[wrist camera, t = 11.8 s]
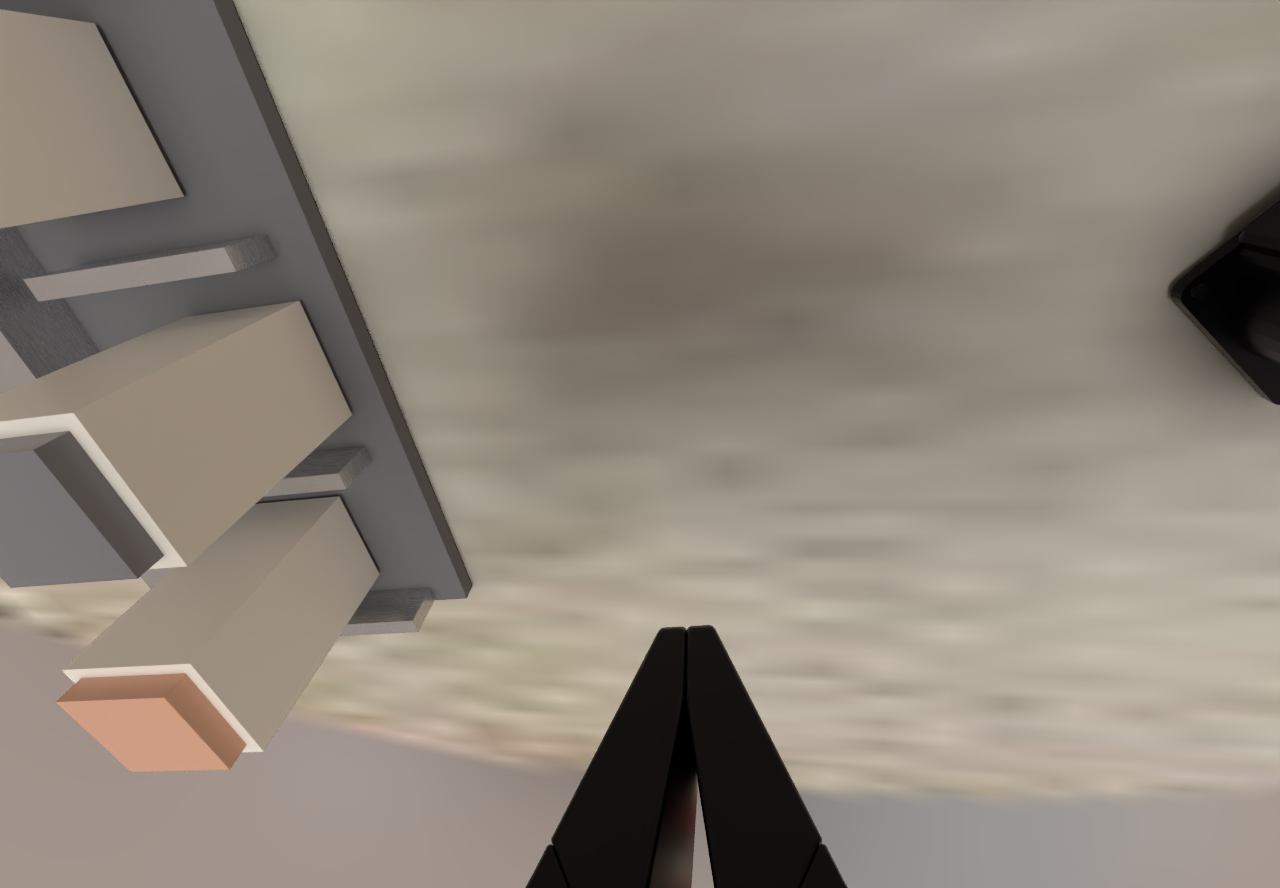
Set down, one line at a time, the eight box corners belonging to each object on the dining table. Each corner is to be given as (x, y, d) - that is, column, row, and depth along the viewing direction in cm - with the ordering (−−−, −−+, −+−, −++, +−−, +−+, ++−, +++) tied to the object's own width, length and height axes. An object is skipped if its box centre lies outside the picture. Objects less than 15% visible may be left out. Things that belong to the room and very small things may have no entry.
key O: (339, 496, 23) (168, 688, 16) (379, 574, 25) (247, 776, 18) (244, 504, 24) (34, 693, 16) (292, 580, 26) (127, 778, 18)
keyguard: (117, -89, 14) (22, -122, 12) (436, 599, 26) (415, 641, 24) (-207, -5, 16) (-343, -22, 13) (238, 612, 28) (202, 652, 26)
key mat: (194, -92, 15) (169, -102, 14) (472, 585, 27) (466, 598, 26) (-170, 0, 16) (-207, -5, 16) (248, 600, 28) (238, 612, 28)
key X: (299, 300, 19) (36, 431, 11) (352, 414, 21) (162, 589, 13) (185, 316, 20) (-140, 452, 12) (248, 426, 22) (8, 600, 14)
